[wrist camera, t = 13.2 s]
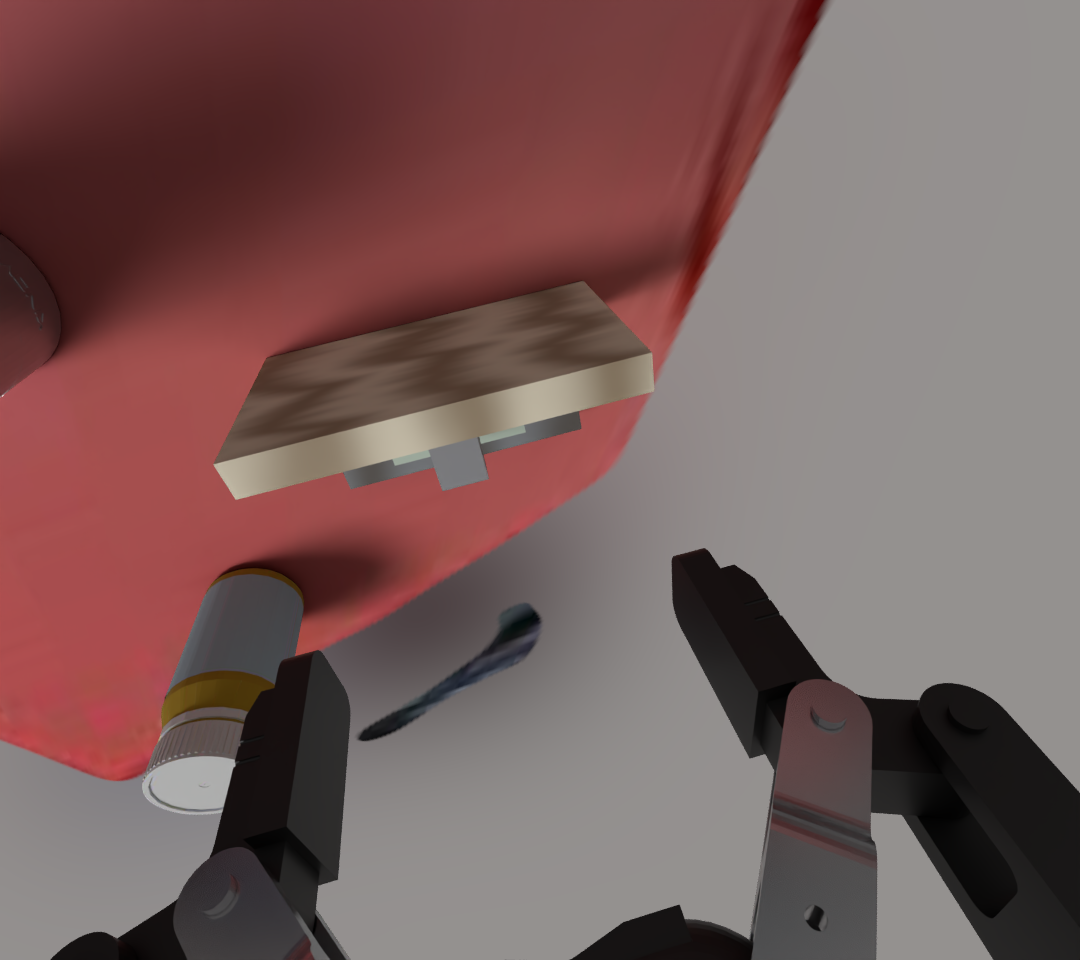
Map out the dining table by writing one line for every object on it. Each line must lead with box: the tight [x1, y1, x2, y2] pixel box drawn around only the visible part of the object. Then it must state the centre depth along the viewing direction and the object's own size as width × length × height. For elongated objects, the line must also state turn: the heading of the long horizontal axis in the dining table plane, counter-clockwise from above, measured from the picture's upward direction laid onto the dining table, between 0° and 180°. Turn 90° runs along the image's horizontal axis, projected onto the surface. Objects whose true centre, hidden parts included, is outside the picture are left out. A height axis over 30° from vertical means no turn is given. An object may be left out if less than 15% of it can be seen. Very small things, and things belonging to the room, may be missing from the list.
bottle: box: [142, 568, 304, 815], centre depth 38 cm, size 7×7×15 cm
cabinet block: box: [392, 425, 526, 491], centre depth 33 cm, size 8×4×10 cm, turn 100°
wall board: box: [213, 281, 654, 500], centre depth 33 cm, size 20×9×12 cm, turn 100°
